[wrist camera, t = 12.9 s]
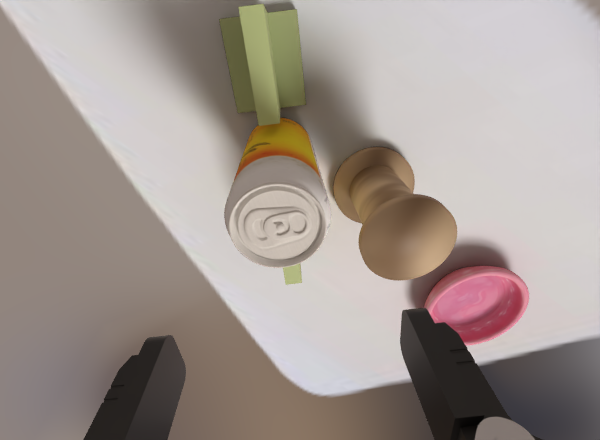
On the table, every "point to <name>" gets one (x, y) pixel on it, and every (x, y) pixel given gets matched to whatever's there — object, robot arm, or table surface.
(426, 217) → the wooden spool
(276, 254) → the beer can
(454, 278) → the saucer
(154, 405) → the robot arm
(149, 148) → the table surface
